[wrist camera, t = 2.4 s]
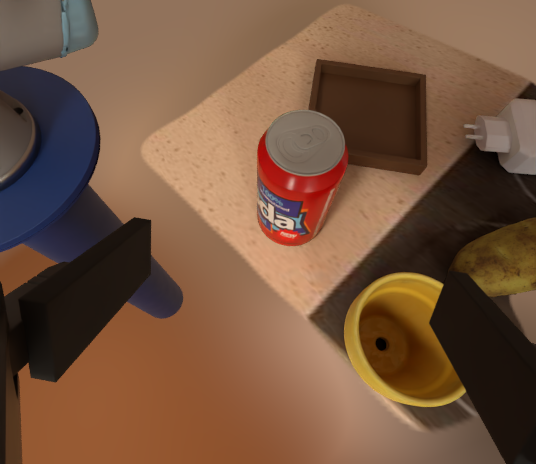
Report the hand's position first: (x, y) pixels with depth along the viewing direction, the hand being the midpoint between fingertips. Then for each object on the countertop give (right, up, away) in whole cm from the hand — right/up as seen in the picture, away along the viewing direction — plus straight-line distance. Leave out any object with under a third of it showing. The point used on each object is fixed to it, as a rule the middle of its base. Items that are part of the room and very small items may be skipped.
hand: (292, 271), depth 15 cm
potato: (+25, -3, +25) cm, 35 cm away
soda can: (+2, +3, +26) cm, 27 cm away
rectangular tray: (+12, +17, +32) cm, 39 cm away
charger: (+32, +13, +31) cm, 47 cm away
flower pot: (+10, -10, +21) cm, 26 cm away
